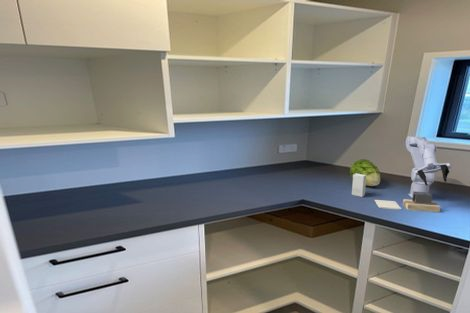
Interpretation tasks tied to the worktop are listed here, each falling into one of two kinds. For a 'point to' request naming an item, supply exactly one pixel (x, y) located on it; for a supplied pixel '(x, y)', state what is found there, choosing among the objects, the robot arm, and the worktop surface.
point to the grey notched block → (422, 198)
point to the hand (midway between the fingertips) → (435, 182)
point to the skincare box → (359, 185)
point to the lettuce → (366, 171)
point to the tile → (387, 204)
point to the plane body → (421, 206)
